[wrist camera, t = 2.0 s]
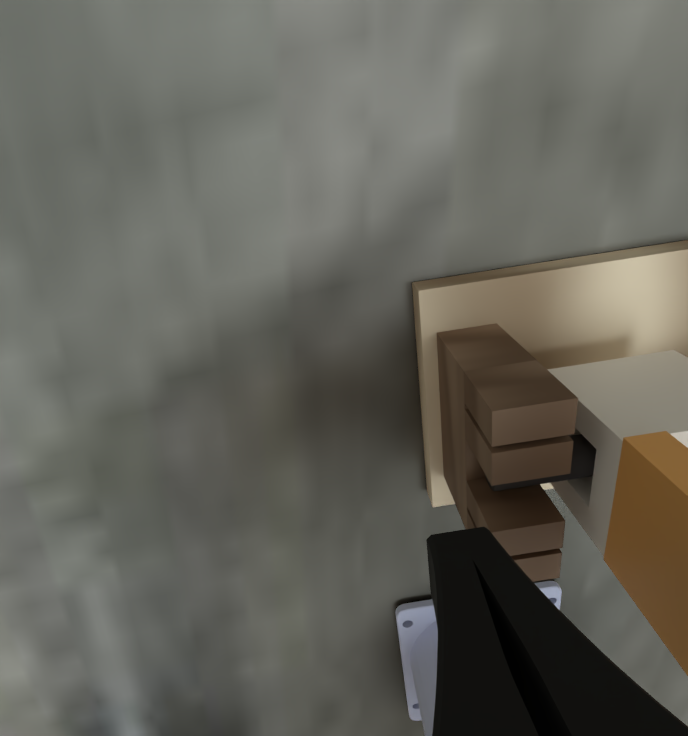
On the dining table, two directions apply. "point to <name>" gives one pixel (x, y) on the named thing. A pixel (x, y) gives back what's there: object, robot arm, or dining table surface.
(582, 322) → the board
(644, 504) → the sleeve
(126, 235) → the dining table surface
